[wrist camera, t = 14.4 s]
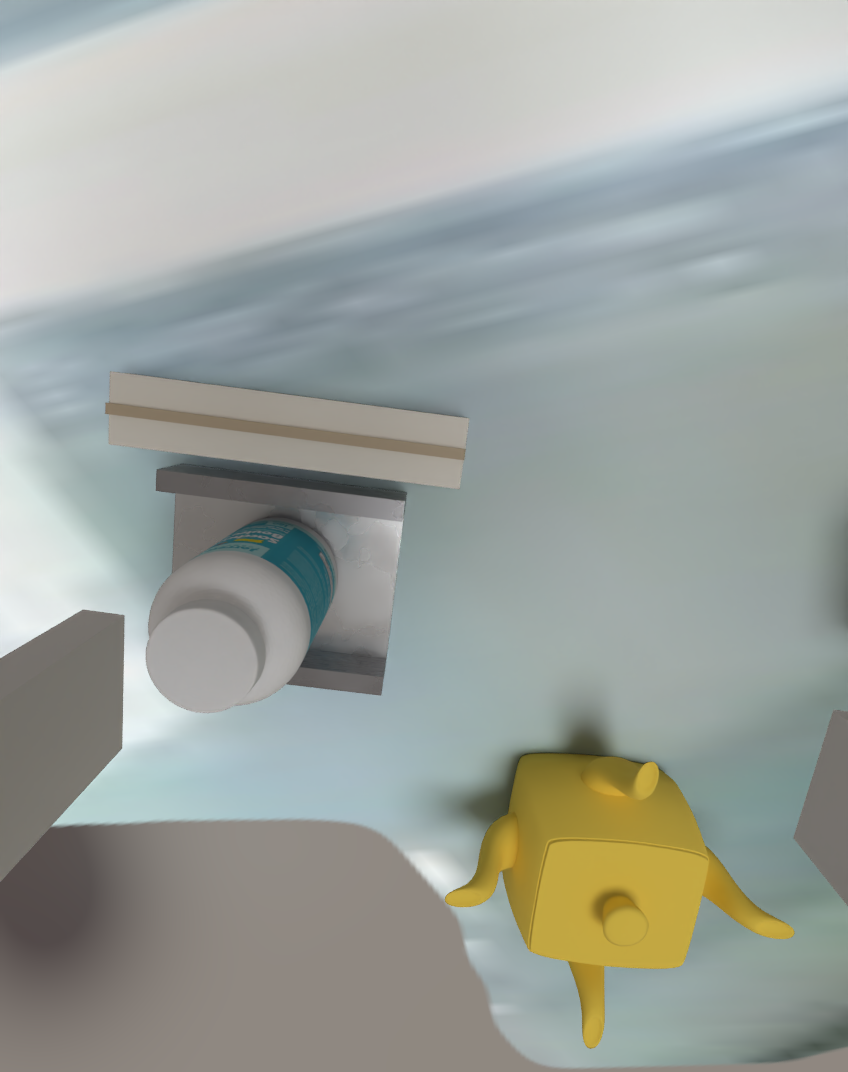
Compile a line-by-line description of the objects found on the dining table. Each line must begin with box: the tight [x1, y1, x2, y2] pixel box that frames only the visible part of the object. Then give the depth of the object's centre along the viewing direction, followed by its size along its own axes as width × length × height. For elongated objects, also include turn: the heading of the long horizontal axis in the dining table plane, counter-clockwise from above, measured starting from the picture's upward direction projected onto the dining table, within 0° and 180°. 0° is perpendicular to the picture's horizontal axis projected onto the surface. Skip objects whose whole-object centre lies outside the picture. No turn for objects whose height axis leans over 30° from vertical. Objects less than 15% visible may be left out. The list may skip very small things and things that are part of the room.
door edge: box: [105, 372, 469, 489], centre depth 35 cm, size 4×20×3 cm, turn 83°
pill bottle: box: [146, 517, 338, 713], centre depth 31 cm, size 8×7×14 cm
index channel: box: [156, 464, 407, 695], centre depth 37 cm, size 12×14×4 cm
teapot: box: [445, 753, 794, 1049], centre depth 38 cm, size 15×14×10 cm
